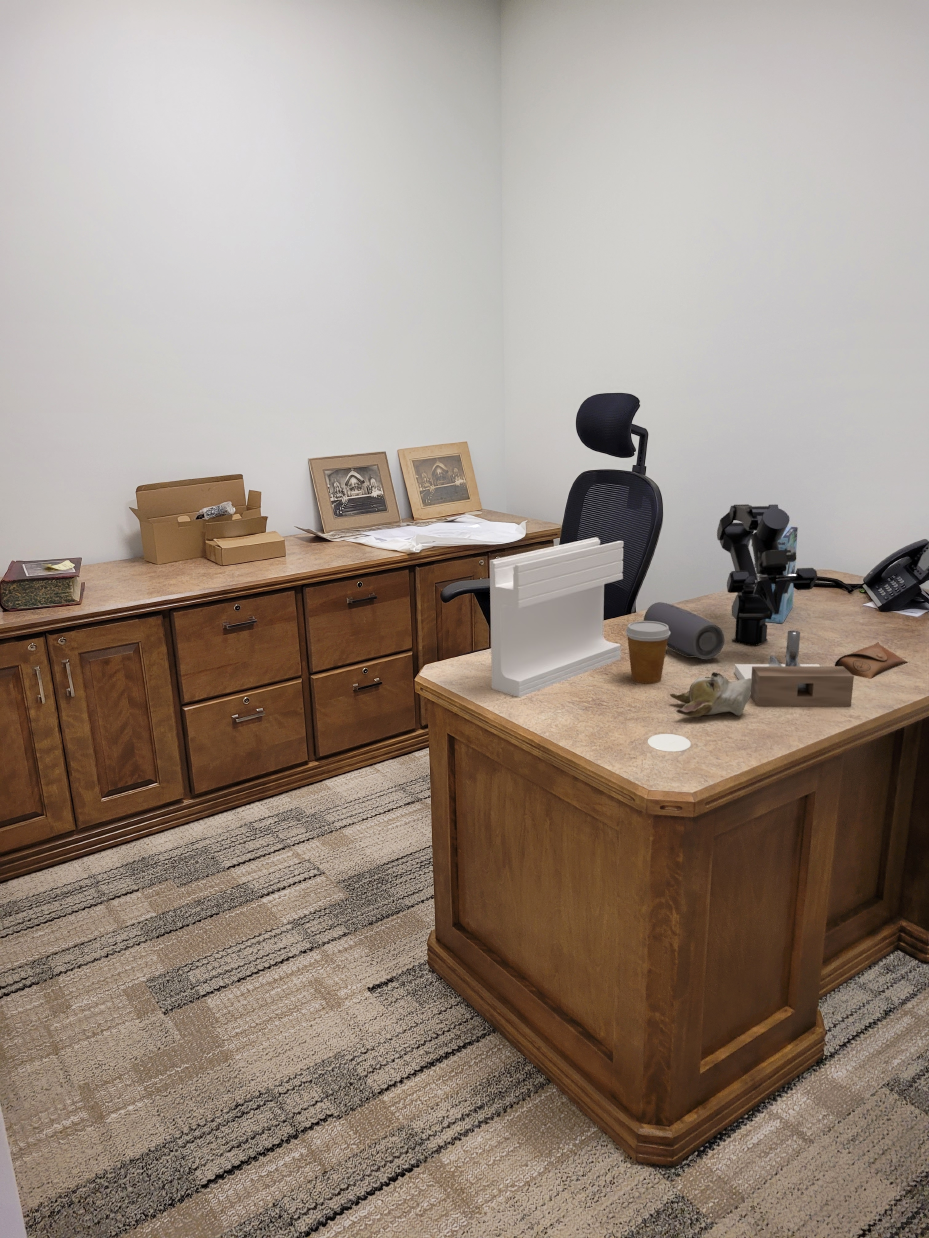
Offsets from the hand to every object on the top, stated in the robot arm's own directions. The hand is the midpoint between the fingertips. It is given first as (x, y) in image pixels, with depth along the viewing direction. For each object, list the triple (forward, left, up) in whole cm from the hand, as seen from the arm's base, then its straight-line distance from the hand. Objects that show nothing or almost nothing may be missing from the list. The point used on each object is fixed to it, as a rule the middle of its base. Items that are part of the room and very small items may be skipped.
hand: (776, 613), depth 193 cm
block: (-34, -34, -13) cm, 50 cm away
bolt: (+11, -13, -10) cm, 20 cm away
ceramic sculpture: (+3, -34, -13) cm, 36 cm away
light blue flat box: (-19, +44, -13) cm, 50 cm away
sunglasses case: (+16, +15, -13) cm, 26 cm away
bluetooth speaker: (-22, -2, -13) cm, 26 cm away
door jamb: (+13, -17, -13) cm, 25 cm away
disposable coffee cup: (-17, -25, -13) cm, 33 cm away
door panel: (+6, -7, -13) cm, 16 cm away
